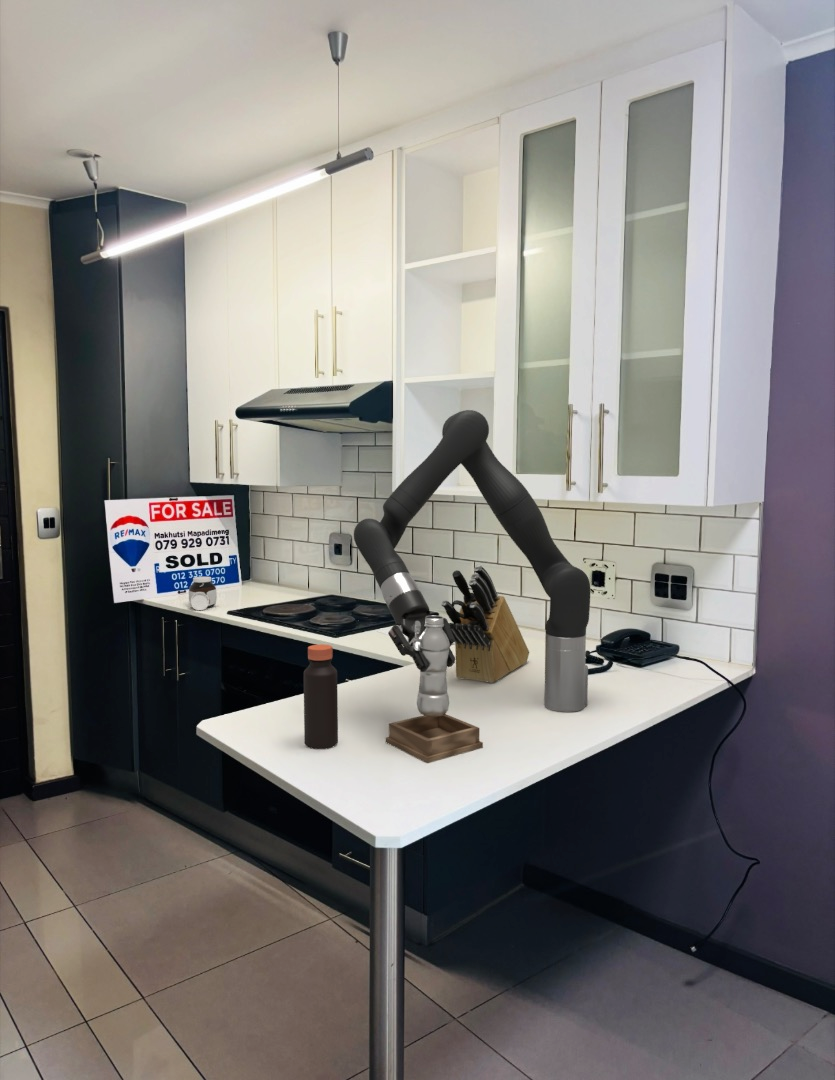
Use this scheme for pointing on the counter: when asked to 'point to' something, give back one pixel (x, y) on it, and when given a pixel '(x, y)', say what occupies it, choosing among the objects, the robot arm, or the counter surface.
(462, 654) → the knife block
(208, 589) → the spread jar
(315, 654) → the vinegar
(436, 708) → the silver metal bottle
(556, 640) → the robot arm
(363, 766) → the counter surface
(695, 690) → the counter surface
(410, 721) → the square wooden tray
